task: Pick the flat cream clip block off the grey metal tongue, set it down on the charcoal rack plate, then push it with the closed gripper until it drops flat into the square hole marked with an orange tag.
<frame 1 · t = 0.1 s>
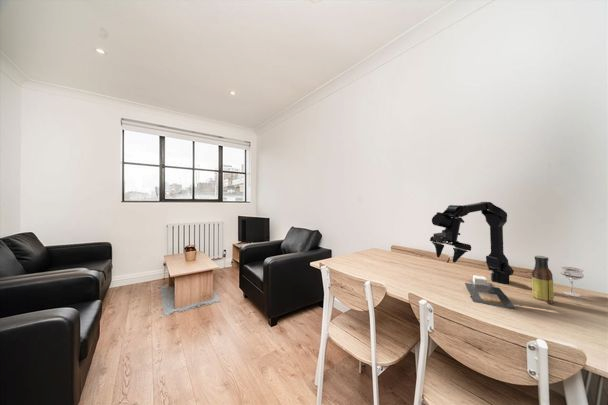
hand: (445, 259, 105), 15 cm above the table, tool pointing down, fingers open, 9 cm apart
clip block: (479, 283, 110), point 1 cm above the table, touching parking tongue
wineglass: (571, 294, 99), on the table
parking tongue: (479, 284, 110), on the table
sauce bottle: (542, 301, 93), on the table
rack plate: (486, 295, 99), on the table
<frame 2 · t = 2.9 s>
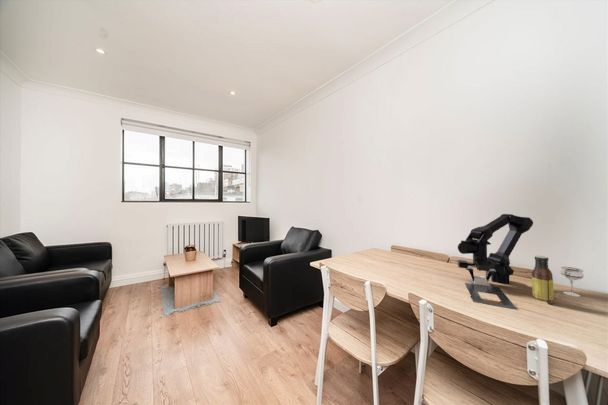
hand: (479, 282, 110), 2 cm above the table, tool pointing down, fingers closed on clip block, 5 cm apart
clip block: (479, 283, 110), point 1 cm above the table, touching gripper, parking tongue
everything else where it was.
when the fingers open (2 cm above the table, at t = 6.6 s): clip block stays where it is, resting on rack plate.
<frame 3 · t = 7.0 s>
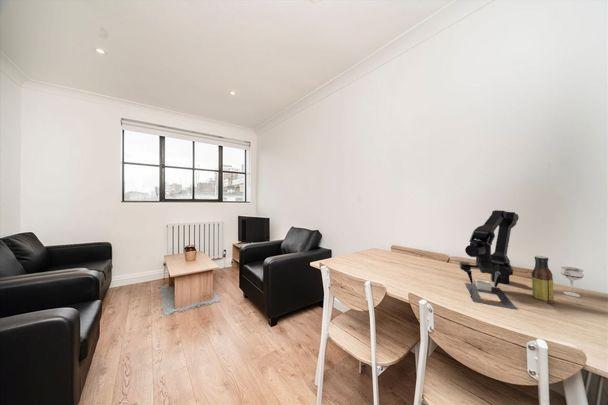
hand: (483, 285, 104), 2 cm above the table, tool pointing down, fingers open, 9 cm apart
clip block: (483, 288, 104), point 1 cm above the table, touching rack plate
everything else where it was.
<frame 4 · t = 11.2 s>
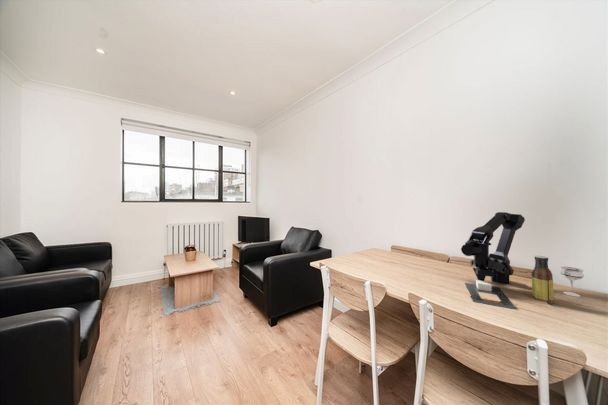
hand: (481, 284, 107), 2 cm above the table, tool pointing down, fingers closed
clip block: (483, 288, 104), point 1 cm above the table, touching gripper, rack plate
everything else where it was.
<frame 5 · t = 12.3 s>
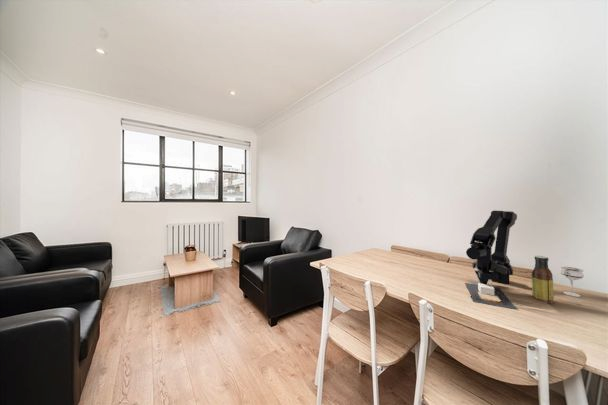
hand: (483, 287, 104), 2 cm above the table, tool pointing down, fingers closed
clip block: (485, 292, 100), point 1 cm above the table, touching gripper, rack plate
everything else where it was.
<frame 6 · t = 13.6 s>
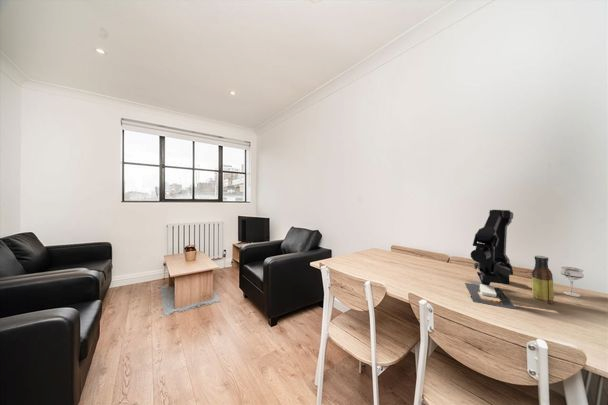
hand: (485, 289, 101), 2 cm above the table, tool pointing down, fingers closed, pressing on clip block
clip block: (487, 293, 99), point 1 cm above the table, tilted 24°, touching gripper
everything else where it was.
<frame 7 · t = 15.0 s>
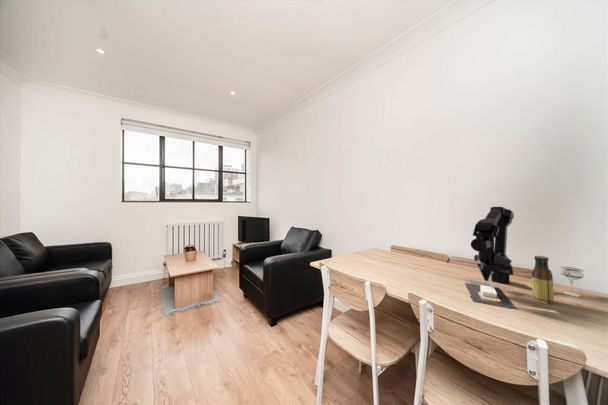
hand: (486, 280, 99), 7 cm above the table, tool pointing down, fingers closed
clip block: (487, 294, 98), point 1 cm above the table, tilted 15°, touching rack plate
everything else where it was.
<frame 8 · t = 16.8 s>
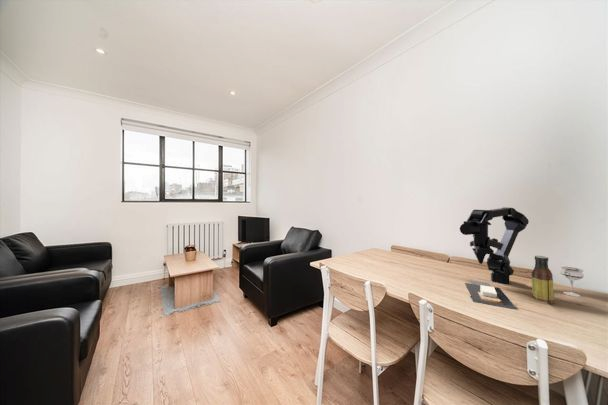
hand: (480, 263, 108), 12 cm above the table, tool pointing down, fingers closed
nothing on the table moved.
at the end: clip block 2.8 cm from the target spot, point 0.7 cm above the table; clip block touching rack plate, table; the gripper is holding nothing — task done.
